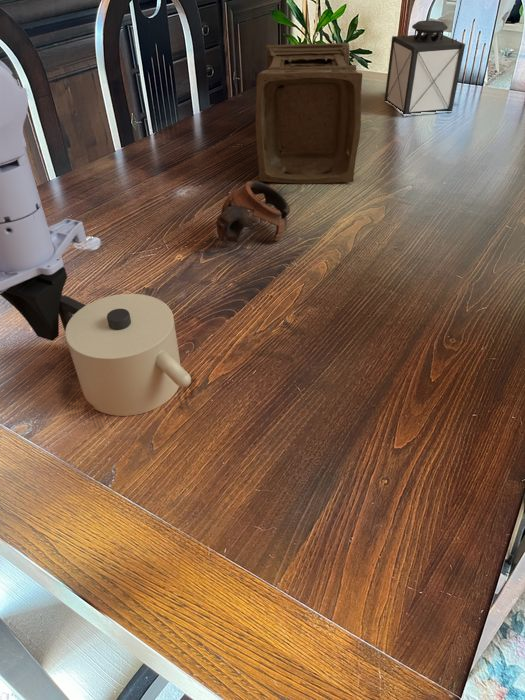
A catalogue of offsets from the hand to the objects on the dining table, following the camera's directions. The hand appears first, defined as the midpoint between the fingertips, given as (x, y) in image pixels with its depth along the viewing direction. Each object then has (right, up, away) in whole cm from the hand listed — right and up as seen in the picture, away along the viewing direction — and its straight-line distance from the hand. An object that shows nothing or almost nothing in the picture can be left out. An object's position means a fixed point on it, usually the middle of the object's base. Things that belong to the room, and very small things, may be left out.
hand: (48, 335), depth 55 cm
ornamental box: (+29, +37, +51) cm, 70 cm away
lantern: (+56, +52, +68) cm, 102 cm away
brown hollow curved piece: (+19, +15, +24) cm, 34 cm away
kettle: (+9, -4, -1) cm, 10 cm away
